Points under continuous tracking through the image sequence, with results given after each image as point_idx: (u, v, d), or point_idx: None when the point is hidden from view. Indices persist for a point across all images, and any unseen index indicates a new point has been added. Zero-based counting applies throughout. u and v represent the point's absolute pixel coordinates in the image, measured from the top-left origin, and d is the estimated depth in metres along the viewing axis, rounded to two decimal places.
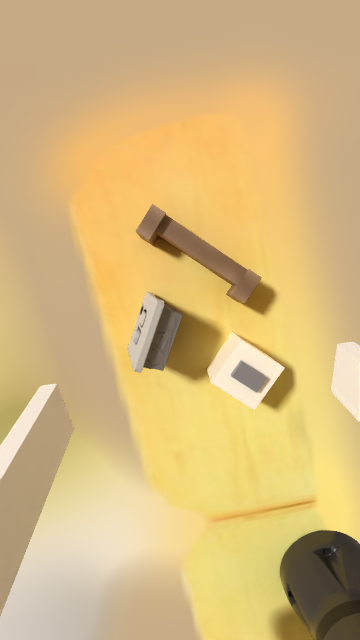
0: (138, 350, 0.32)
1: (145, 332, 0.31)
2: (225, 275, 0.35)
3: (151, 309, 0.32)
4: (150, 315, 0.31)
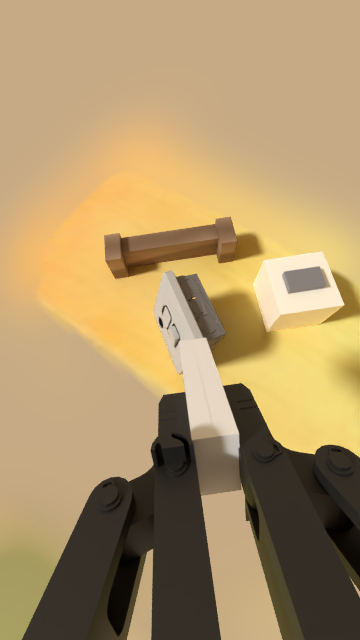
0: (185, 330, 0.26)
1: (177, 307, 0.26)
2: (203, 239, 0.35)
3: (165, 288, 0.28)
4: (168, 291, 0.27)
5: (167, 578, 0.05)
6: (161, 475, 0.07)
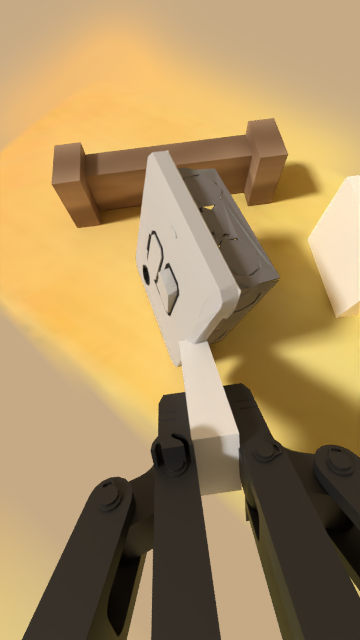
0: (191, 266, 0.12)
1: (174, 218, 0.12)
2: (225, 156, 0.20)
3: (152, 189, 0.14)
4: (158, 191, 0.13)
5: (167, 578, 0.05)
6: (161, 475, 0.07)
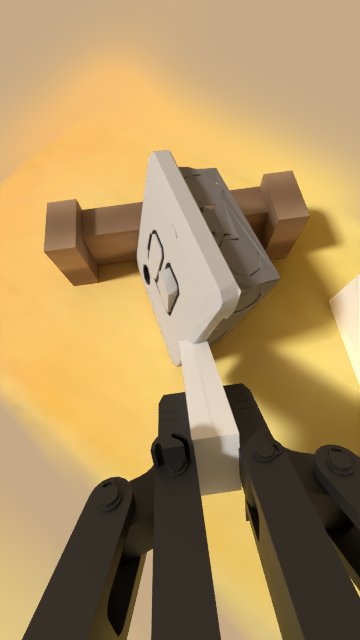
0: (191, 266, 0.12)
1: (174, 217, 0.12)
2: None
3: (153, 188, 0.14)
4: (159, 190, 0.13)
5: (167, 578, 0.05)
6: (161, 475, 0.07)
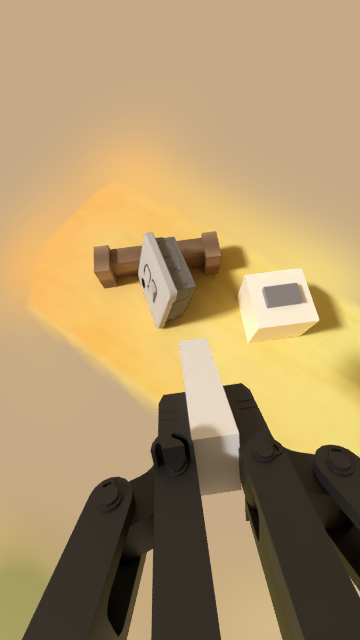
0: (160, 281, 0.30)
1: (154, 262, 0.30)
2: (189, 252, 0.36)
3: (146, 247, 0.32)
4: (148, 249, 0.31)
5: (167, 578, 0.05)
6: (161, 475, 0.07)
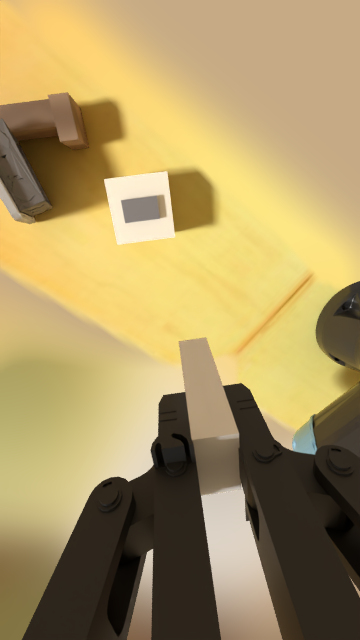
0: None
1: None
2: (39, 126, 0.28)
3: None
4: None
5: (167, 578, 0.05)
6: (161, 475, 0.07)
